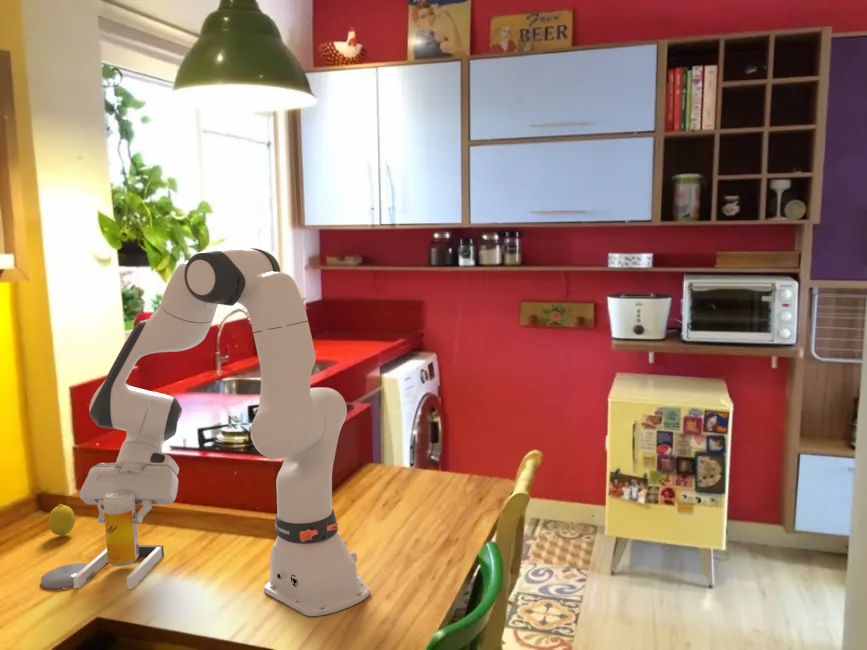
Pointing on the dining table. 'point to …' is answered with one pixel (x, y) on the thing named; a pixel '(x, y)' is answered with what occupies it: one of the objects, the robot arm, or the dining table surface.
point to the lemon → (61, 520)
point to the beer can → (120, 527)
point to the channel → (152, 557)
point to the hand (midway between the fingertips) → (119, 522)
